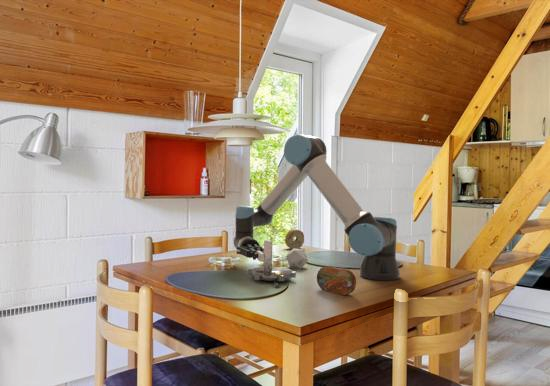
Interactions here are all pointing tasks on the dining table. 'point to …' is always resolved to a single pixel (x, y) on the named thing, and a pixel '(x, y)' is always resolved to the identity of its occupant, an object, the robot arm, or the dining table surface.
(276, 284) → the timing pointer
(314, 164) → the robot arm
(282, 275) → the sprocket
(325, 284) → the tin
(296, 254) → the die
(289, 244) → the stone disc
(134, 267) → the dining table surface
